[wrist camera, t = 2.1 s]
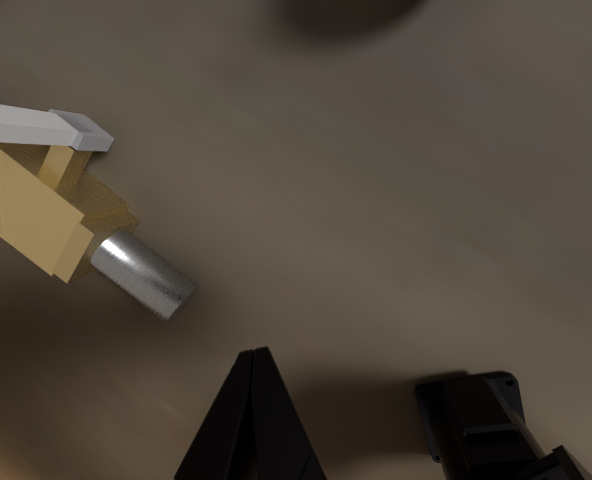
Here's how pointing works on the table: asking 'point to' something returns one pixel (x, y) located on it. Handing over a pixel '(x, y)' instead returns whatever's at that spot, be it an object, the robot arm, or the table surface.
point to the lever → (51, 129)
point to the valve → (80, 226)
